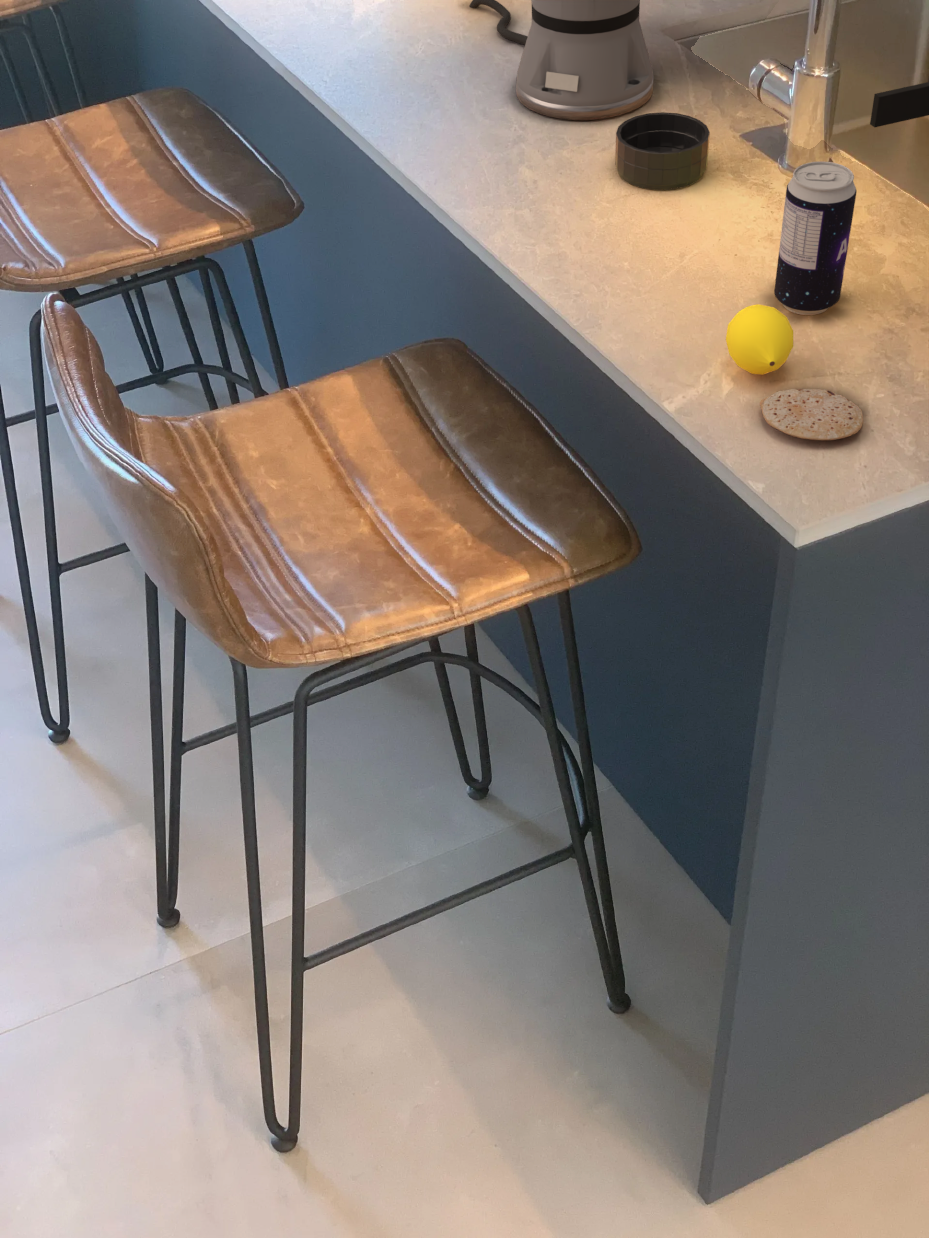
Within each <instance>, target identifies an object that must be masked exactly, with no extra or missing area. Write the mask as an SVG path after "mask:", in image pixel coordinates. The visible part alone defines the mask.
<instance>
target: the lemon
mask: <svg viewBox="0 0 929 1238" xmlns="http://www.w3.org/2000/svg"><path fill="white" fill-rule="evenodd" d="M725 342H726V346H727V351H728V354H729V356H730V357H731V359H732V360H733V361H734V363H735V364H736V365H737V367H739V368H741V369H742V370H744V371H746V372H748V373H749V374H751V375H766V374H769V373H772V372H774V371H777V370H779V368H781V367H782V366H783V365H784V364H785V363H786V362H787V360H788V358H789V356H790V354H791V351H792V350H793V348H794V329H793V327H792V325H791V323H790V320H789V319H788V317H787V316H786V315H785V314H784V313H783V312H781V311H780V310H778V309H777V308H776V307H773V306H769V305H765V304H759V303H758V304H752V305H748V306H746V307H743V309H741V310H739V311H738V312H737V313H735V314H734V317H733V318H732V319H731V320H730V321H729V323H728V324H727V328H726V336H725Z"/></svg>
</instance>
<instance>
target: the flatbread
mask: <svg viewBox="0 0 929 1238" xmlns="http://www.w3.org/2000/svg"><path fill="white" fill-rule="evenodd" d="M759 408H760V409H761V413H762V417H763V419H764V420H765V422H766V424H767V425H769V426H770V427H772V428H773V429H775V430H777V431H779V432H781V433H783V434H785V435H788V436H791V437H794V438H797V439H802V440H803V439H804V440H811V441H835V440H840V439H845V438H848V437H850V436H854V435H855V434H857V433H859V431H860V430H861V429H862V427H863V423H864V416H863V411H862V409H861V408H860V407H859V406H858V405H857V404H855V403H854V402H853V401H851V400H849V399H848V398H846V396H844V395H843V394H842V395H841V394H838V393H837V392H833V391H832V390H828V389H820V388H790V389H784V390H779V391H776V392H774V393H773V394H771V395H769V396H767V397H765V398H762V399H761V400H760V401H759Z"/></svg>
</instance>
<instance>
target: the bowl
mask: <svg viewBox="0 0 929 1238" xmlns="http://www.w3.org/2000/svg"><path fill="white" fill-rule="evenodd" d="M710 135H711V132H710V129H709V127H708V125H707V124H705V123H704V122H703V121H701V120H700V119H698V118H696V117H693V116H692V115H687V114H682V113H679V112H661V111H660V112H648V113H644V114H640V115H639V114H638V115H635V116H633V117H631V118H628V119H626V120H624V121H622V123H620V124H619V126H618V127H617V129H616V131H615V156H614V157H615V158H614V166H615V168H616V171H617V174H618V176H619V177H620V178H621V180H623V181H624V182H626V183H627V184H630V186H634V187H637V188H639V189H645V190H649V191H650V190H651V191H672V190H677V189H682V188H686V187H688V186H691V185H693V184H695V183H696V182H698V181H699V180H701V178H702V177H703V176H704V174H705V172H706V171H707V168H708V162H709V161H708V160H709V148H710Z"/></svg>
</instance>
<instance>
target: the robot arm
mask: <svg viewBox="0 0 929 1238" xmlns="http://www.w3.org/2000/svg"><path fill="white" fill-rule="evenodd" d="M530 3H531V22H530V23H531V24H530V27H529V31H528V34H527V35H525V34H521V33H518V32H515V31H512V30H510V29H508V28H506V27H507V26H508V24H509V23H510V21H511V19H512V16H511V12H510V11H509V10H508V8H506V7H505V6H504V5H503V4H501V3H500V2H499V1H497V0H471V2H470V3H469V6H468V7H469V8H470V9H477V8H478V7H479V6H481V5H482V6H487V7H488V8H491V9H492V10H494V11H495V12H497V13H498V14H499V15H501V18H500V20H499V21H498V23H497V24H496V32H497V33H498V34H499V35H500V36H501V37H502V38H504V39H506V40H508V41H512V42H515V43H517V44H521V45H524V47H523V51H522V54H521V58H520V60H519V63H518V64H519V65H518V68H517V72H516V78H515V84H516V85H515V86H516V87H515V90H516V91H515V92H516V97H517V99H518V101H519V102H520V103H521V104H522V105H523V106H524V107H525V108H527V109H529V110H531V111H533V112H534V113H537V114H539V115H543V116H546V117H550V118H555V119H561V120H562V119H563V120H573V121H589V120H602V119H608V118H613V117H617V116H618V117H619V116H621V115H625V114H627V113H630V112H632V111H635V110H636V109H638V108H640V107H642V106H644V105H645V104H646V103H647V102H648V101H649V100H650V99H651V97H652V95H653V94H654V93H653V92H654V78H655V77H654V71H653V70H654V69H653V66H652V62H651V57H650V55H649V51H648V47H647V43H646V40H645V35H644V33H643V29H642V26H641V21H640V11H641V10H640V9H641V8H640V7H641V0H531V1H530ZM872 101H873V102H872V107H871V114H870V115H871V116H870V121H869V125H870V126H872V127H873V128H879V127H884V126H888V125H892V124H893V125H894V124H898V123H901V122H906V121H910V120H914V119H919V118H924V117H928V116H929V77H928V79H927V82H926V81H925V82H923V83H917V84H913V85H908V86H903V87H900V88H894V89H890V90H885V91H880V92H877V93H874V95H873V100H872Z"/></svg>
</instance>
